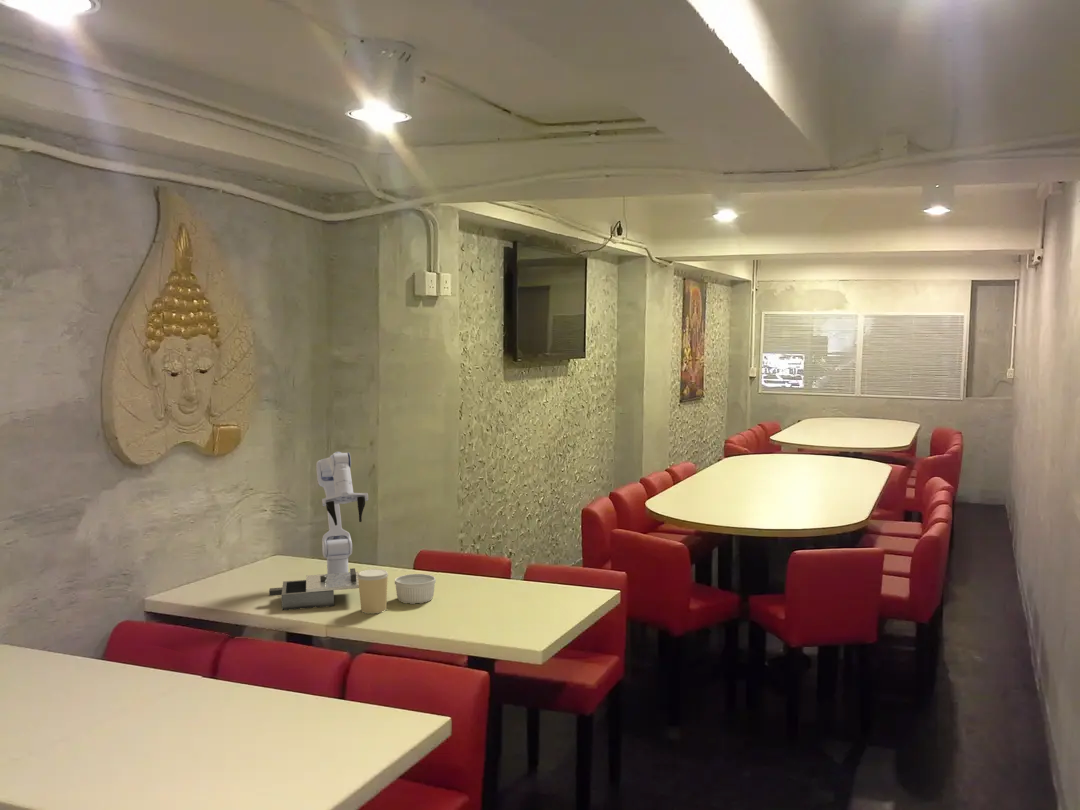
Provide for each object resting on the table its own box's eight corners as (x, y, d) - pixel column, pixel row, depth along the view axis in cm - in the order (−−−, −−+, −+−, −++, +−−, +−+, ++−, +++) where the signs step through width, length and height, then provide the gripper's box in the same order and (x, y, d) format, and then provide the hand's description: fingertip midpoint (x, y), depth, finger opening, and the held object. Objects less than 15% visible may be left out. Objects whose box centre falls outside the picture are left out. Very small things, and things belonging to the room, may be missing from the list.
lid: (306, 578, 292) (306, 568, 292) (358, 574, 296) (357, 564, 296) (306, 592, 276) (305, 581, 275) (360, 588, 280) (360, 577, 280)
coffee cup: (392, 605, 278) (391, 568, 277) (384, 615, 269) (383, 576, 268) (363, 605, 279) (362, 568, 278) (354, 614, 270) (353, 576, 269)
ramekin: (431, 592, 293) (431, 571, 293) (439, 603, 281) (439, 581, 281) (392, 596, 289) (391, 575, 289) (398, 607, 277) (398, 585, 276)
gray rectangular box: (271, 597, 289) (270, 582, 289) (333, 592, 294) (332, 577, 294) (268, 611, 274) (268, 595, 273) (334, 606, 279) (333, 590, 278)
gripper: (320, 482, 280) (324, 519, 273) (365, 476, 284) (371, 513, 277) (321, 492, 286) (325, 529, 278) (365, 487, 289) (371, 523, 282)
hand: (348, 522), depth 278 cm, fingers open, 7 cm apart
